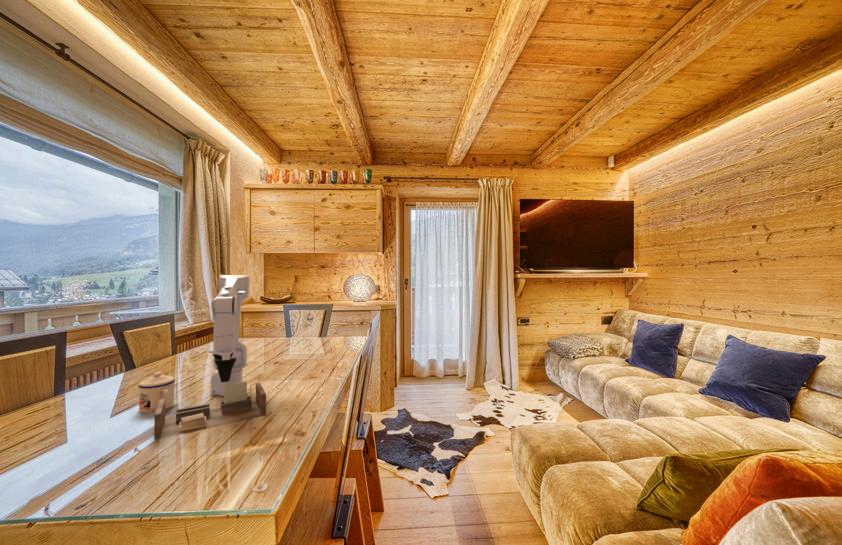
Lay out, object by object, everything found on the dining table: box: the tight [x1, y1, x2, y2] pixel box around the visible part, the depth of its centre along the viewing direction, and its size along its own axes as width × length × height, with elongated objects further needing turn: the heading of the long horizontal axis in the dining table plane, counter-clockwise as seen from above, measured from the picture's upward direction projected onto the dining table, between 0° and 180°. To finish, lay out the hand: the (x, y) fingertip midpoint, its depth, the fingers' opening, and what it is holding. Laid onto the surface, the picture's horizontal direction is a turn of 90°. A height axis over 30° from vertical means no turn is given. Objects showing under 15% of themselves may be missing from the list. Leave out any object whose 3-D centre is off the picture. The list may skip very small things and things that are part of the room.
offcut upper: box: [181, 413, 205, 427], centre depth 90 cm, size 3×5×1 cm
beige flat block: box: [223, 380, 248, 404], centre depth 102 cm, size 2×6×8 cm, turn 124°
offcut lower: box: [179, 417, 206, 432], centre depth 90 cm, size 4×6×1 cm, turn 124°
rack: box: [153, 382, 267, 440], centre depth 96 cm, size 14×26×7 cm, turn 124°
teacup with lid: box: [138, 371, 176, 413], centre depth 104 cm, size 12×9×12 cm
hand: (224, 378), depth 103 cm, fingers open, 7 cm apart
